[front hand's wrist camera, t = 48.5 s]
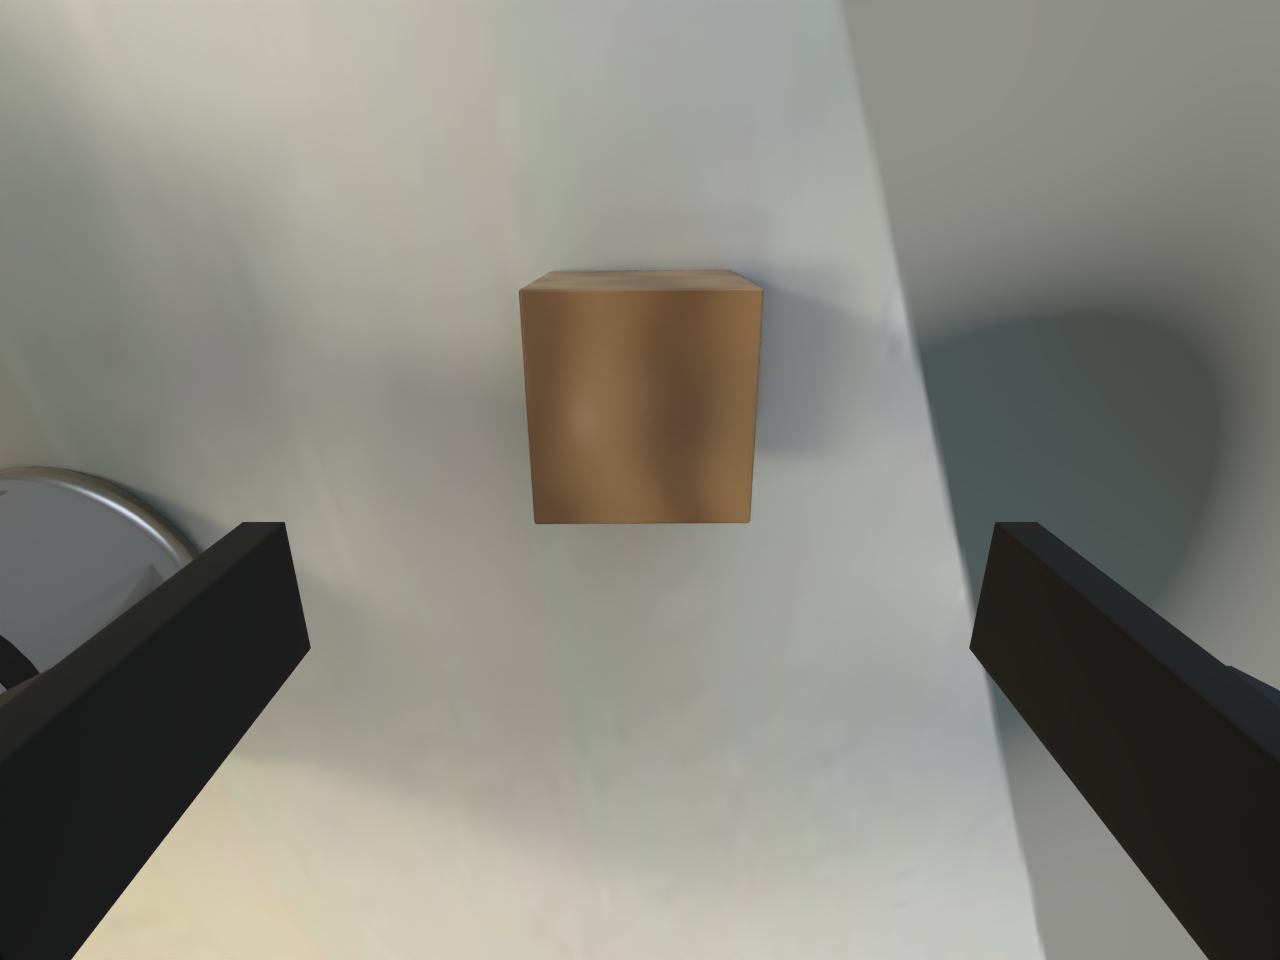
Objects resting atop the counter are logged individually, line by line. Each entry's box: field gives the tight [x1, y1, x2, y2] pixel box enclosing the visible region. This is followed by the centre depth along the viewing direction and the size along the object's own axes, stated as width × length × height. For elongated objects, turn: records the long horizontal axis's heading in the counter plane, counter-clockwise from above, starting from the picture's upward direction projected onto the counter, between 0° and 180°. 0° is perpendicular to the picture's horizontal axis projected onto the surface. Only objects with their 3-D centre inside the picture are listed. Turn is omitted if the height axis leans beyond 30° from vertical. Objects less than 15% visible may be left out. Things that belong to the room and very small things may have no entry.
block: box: [519, 270, 763, 524], centre depth 28 cm, size 8×9×8 cm
